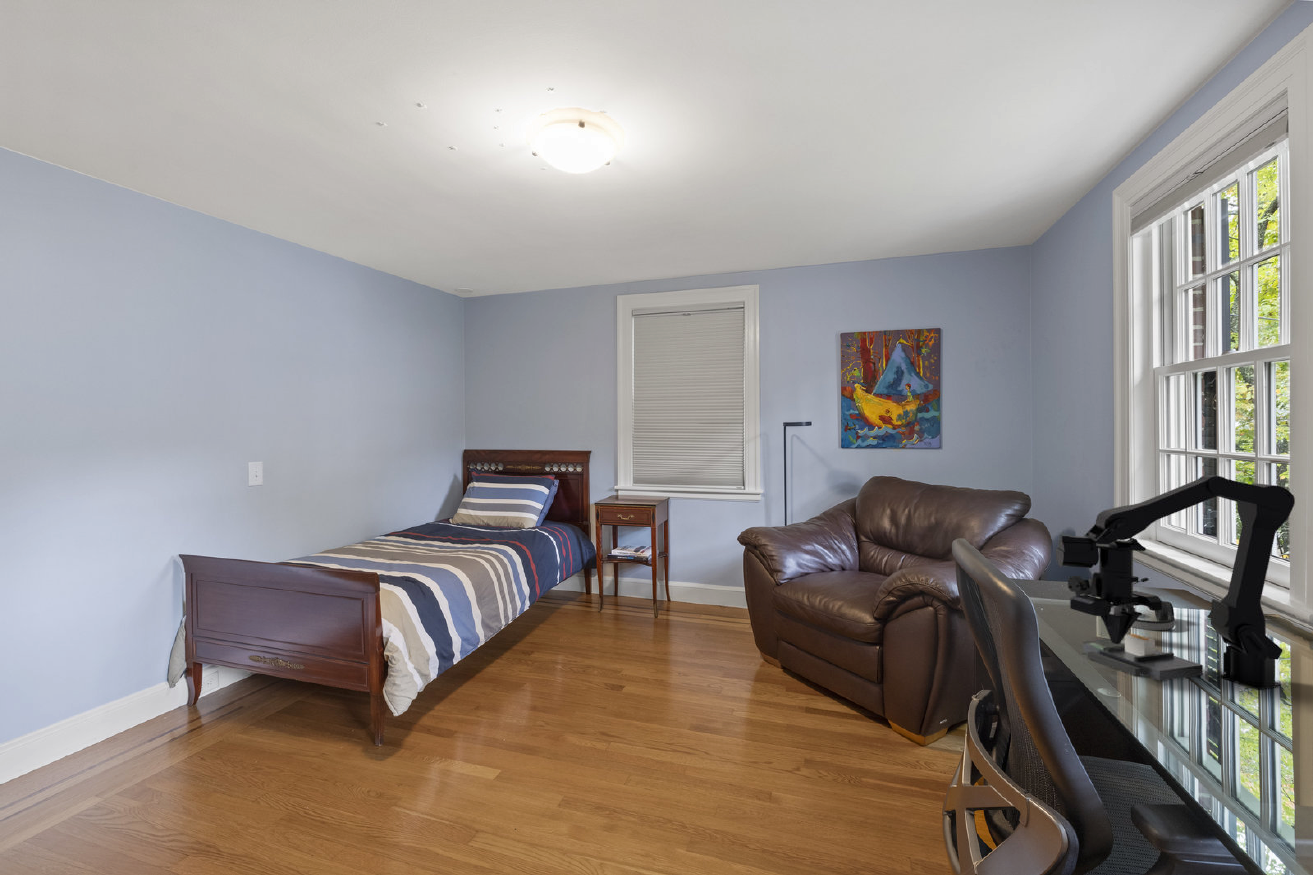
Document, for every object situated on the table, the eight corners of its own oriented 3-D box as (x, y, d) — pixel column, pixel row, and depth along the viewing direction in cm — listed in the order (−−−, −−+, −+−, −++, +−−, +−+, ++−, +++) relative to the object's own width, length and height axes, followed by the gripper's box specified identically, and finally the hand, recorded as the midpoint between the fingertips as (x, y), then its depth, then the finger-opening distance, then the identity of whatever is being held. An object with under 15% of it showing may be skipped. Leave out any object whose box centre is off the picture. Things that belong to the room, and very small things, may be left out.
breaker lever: (1154, 656, 125) (1154, 638, 125) (1144, 657, 124) (1144, 639, 124) (1135, 650, 129) (1135, 632, 129) (1124, 651, 128) (1124, 633, 128)
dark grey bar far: (1122, 646, 137) (1122, 640, 137) (1089, 650, 134) (1089, 644, 134) (1116, 644, 138) (1116, 638, 138) (1083, 648, 136) (1083, 642, 136)
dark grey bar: (1140, 675, 120) (1140, 668, 120) (1135, 676, 120) (1135, 669, 120) (1092, 657, 130) (1092, 651, 130) (1087, 658, 129) (1087, 652, 129)
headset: (1172, 580, 160) (1176, 604, 145) (1172, 614, 161) (1176, 641, 146) (1110, 572, 169) (1107, 594, 153) (1110, 605, 169) (1107, 630, 154)
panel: (1202, 674, 120) (1202, 661, 120) (1159, 680, 117) (1159, 666, 117) (1122, 647, 136) (1122, 635, 136) (1082, 652, 133) (1082, 640, 133)
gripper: (1110, 560, 135) (1110, 628, 135) (1046, 564, 130) (1046, 634, 130) (1164, 570, 124) (1163, 644, 124) (1096, 575, 119) (1096, 652, 119)
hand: (1115, 643), depth 125 cm, fingers closed
